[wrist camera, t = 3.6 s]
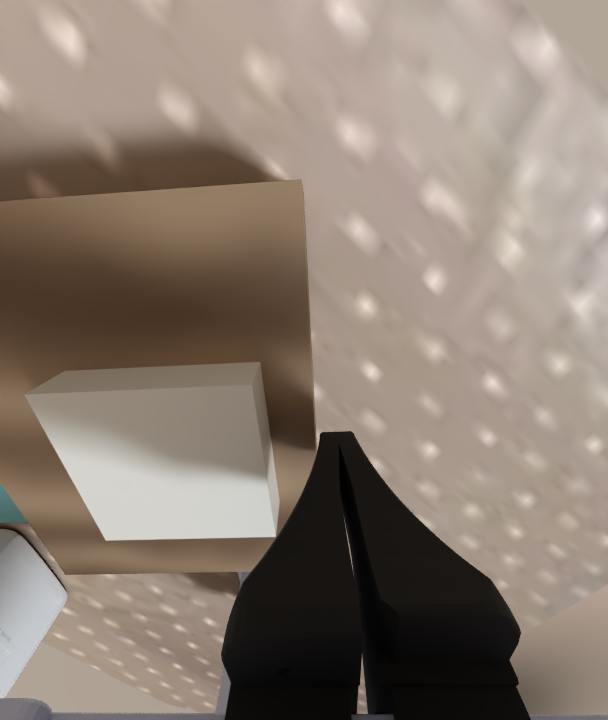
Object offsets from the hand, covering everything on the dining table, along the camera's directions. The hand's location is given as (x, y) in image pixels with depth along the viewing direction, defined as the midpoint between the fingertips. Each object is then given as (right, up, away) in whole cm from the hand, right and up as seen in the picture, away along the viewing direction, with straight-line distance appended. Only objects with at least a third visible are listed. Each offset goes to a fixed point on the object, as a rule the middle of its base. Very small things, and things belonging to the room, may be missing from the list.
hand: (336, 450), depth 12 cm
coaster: (-7, 0, +1) cm, 7 cm away
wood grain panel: (-9, +2, +5) cm, 10 cm away
